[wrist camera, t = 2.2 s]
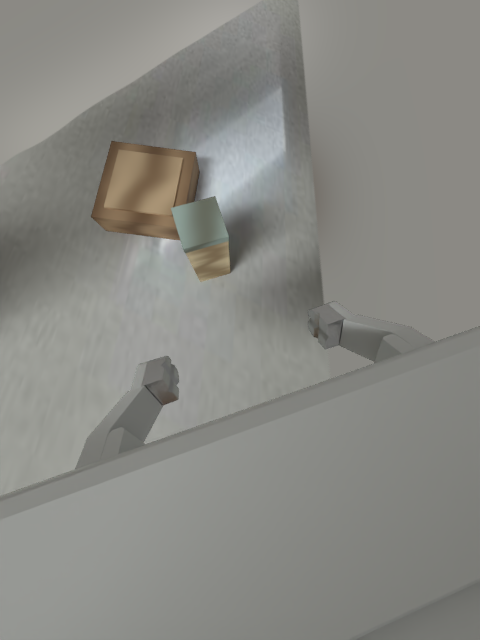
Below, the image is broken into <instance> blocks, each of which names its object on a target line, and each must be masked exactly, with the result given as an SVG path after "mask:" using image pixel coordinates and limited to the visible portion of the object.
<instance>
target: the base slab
mask: <svg viewBox="0 0 480 640" xmlns="http://www.w3.org/2000/svg"><path fill="white" fill-rule="evenodd" d="M198 177H199V167H198V162H197V157H196V152H190V151H183V150H175V149H167V148H160V147H152V146H145V145H137V144H130V143H122V142H115V141H111V145H110V149H109V152H108V156H107V160H106V163H105V167H104V171H103V174H102V178H101V182H100V185H99V189H98V193H97V197H96V200H95V204H94V208H93V211H92V215H91V217H92V218H93V219H94V220H95V221H96V222H97V223H98V224H99V225H101V226H102V227H103V228H104V229H105V230H106V231H112V232H119V233H127V234H135V235H143V236H151V237H159V238H166V239H174V240H180V237H179V234H178V231H177V227H176V224H175V221H174V217H173V214H172V211H171V208H173V207H177V206H180V205H184V204H188V203H192V202H194V200H195V194H196V189H197V183H198Z"/></svg>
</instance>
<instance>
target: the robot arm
mask: <svg viewBox="0 0 480 640" xmlns="http://www.w3.org/2000/svg"><path fill="white" fill-rule="evenodd" d="M308 316H309V317H310V319H309V321H308V328H309V331H310V332H311V334H312V335H313V336H314V337H316V338H318V342H319V343H320V344H321V345H322V347H323V348H324V349H328V348H331V347H334V346H338V345H340V346H341V347H343V348H346V349H348V350H350V351H352V352H355V353H357V354H359V355H361V356H363V357H365V358H367V359H369V360H372V361H374V364H371V365H368V366H366V367H363V368H360V369H357V370H354V371H351V372H349V373H346V374H343V375H340V376H337V377H335V378H332V379H329V380H326V381H323V382H320V383H318V384H315V385H312V386H309V387H306V388H304V389H301V390H298V391H295V392H292V393H290V394H287V395H284V396H281V397H278V398H275V399H273V400H270V401H267V402H264V403H261V404H258V405H256V406H253V407H250V408H247V409H244V410H242V411H239V412H236V413H233V414H230V415H227V416H225V417H222V418H219V419H216V420H213V421H210V422H208V423H205V424H202V425H199V426H196V427H194V428H191V429H188V430H185V431H182V432H179V433H177V434H174V435H171V436H168V437H165V438H162V439H160V440H157V441H154V442H151V443H148V444H144V443H143V442H144V441H145V439H146V437H147V435H148V433H149V431H150V429H151V428H152V426H153V424H154V422H155V420H156V418H157V416H158V415H159V413H160V411H161V409H162V407H163V405H165V404H168V403H171V402H173V401H176V400H178V397H179V388H178V387H177V384H178V382H179V375H178V371H177V368H176V367H175V365H172V364H171V359H170V358H169V356H164V357H160V358H157V359H154V360H150V361H148V362H144V363H141V364H139V365H138V366H137V369H136V372H135V376H134V380H133V383H132V387H131V390H130V391H127V393H126V394H125V395H124V396H123V397H122V398H121V400H120V401H119V402H118V403H117V404H116V405H115V406H114V408H113V409H112V410H111V411H110V412H109V413H108V415H107V416H106V417H105V418H104V419H103V420H102V422H101V423H100V424H99V425H98V426H97V427H96V428H95V430H94V431H93V432H92V433H91V434H90V435H89V437H88V438H87V440H86V443H85V445H84V448H83V450H82V453H81V455H80V458H79V461H78V463H77V466H76V468H75V470H72V471H69V472H67V473H64V474H61V475H58V476H55V477H52V478H50V479H47V480H44V481H41V482H38V483H36V484H33V485H30V486H27V487H24V488H21V489H19V490H16V491H13V492H10V493H7V494H5V495H2V496H0V640H480V326H479V327H476V328H473V329H470V330H467V331H464V332H461V333H459V334H456V335H453V336H450V337H447V338H445V339H442V340H439V341H436V342H435V341H433V340H432V339H430V338H428V337H427V336H425V335H423V334H422V333H420V332H419V331H417V330H415V329H414V328H412V327H410V326H405V325H401V324H397V323H392V322H388V321H383V320H379V319H375V318H370V317H366V316H361V315H354V314H353V313H351V312H350V311H349V310H347V309H346V308H344V307H343V306H342V305H340V304H339V303H337V302H336V301H332V302H330V303H327V304H324V305H321V306H318V307H315V308H312V309H309V311H308Z"/></svg>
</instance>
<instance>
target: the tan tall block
mask: <svg viewBox="0 0 480 640" xmlns="http://www.w3.org/2000/svg"><path fill="white" fill-rule="evenodd" d="M171 211H172V214H173V217H174V221H175V224H176V227H177V231H178V234H179V237H180V241H181V244H182V247H183V250H184V252H185V253H186V255H187V257H188V258H189V260H190V262H191V264H192V266H193V268H194V270H195V272H196V274H197V276H198V278H199V280H200V282H202V281H205V280H209V279H212V278H216V277H219V276H222V275H226V274H229V273H230V259H229V242H228V241H229V235H228V232H227V230H226V227H225V224H224V221H223V218H222V215H221V212H220V209H219V206H218V203H217V200H216V198H215V196H214V197H211V198H207V199H203V200H199V201H195V202H192V203H188V204H184V205H180V206H177V207H173V208H171Z"/></svg>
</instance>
